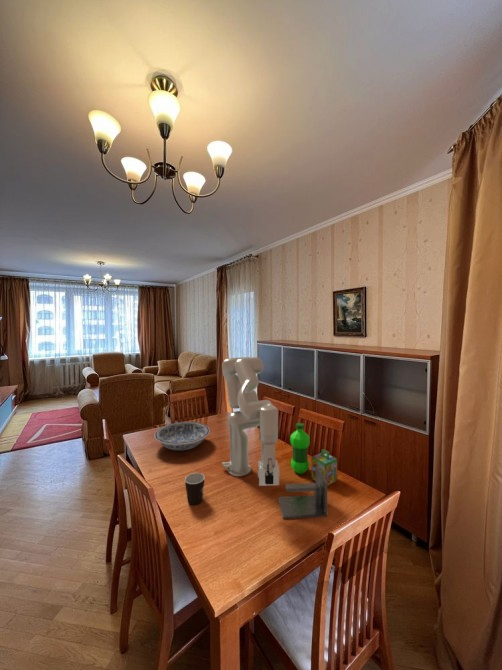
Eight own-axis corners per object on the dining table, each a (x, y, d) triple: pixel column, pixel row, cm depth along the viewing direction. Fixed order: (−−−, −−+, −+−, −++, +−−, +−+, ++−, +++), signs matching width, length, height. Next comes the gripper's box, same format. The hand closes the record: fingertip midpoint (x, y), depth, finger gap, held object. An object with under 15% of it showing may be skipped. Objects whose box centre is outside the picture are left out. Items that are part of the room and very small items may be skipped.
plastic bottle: (309, 466, 146) (309, 421, 145) (309, 477, 135) (309, 428, 135) (291, 464, 148) (290, 420, 147) (289, 475, 138) (289, 427, 137)
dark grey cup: (195, 509, 113) (195, 486, 112) (181, 502, 117) (180, 480, 117) (213, 494, 123) (213, 473, 122) (199, 488, 127) (199, 467, 127)
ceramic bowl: (182, 465, 148) (181, 447, 148) (142, 450, 166) (142, 434, 166) (220, 442, 178) (220, 427, 177) (183, 431, 196) (183, 418, 195)
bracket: (282, 518, 107) (282, 484, 106) (278, 499, 119) (278, 468, 118) (327, 516, 108) (327, 482, 107) (318, 497, 120) (318, 466, 119)
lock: (259, 485, 107) (259, 468, 107) (258, 476, 114) (258, 460, 113) (279, 485, 108) (279, 468, 107) (276, 475, 114) (276, 459, 114)
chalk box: (310, 479, 134) (310, 450, 134) (322, 473, 140) (322, 445, 139) (325, 488, 127) (325, 457, 126) (337, 481, 132) (337, 451, 131)
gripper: (257, 427, 118) (257, 467, 119) (261, 446, 101) (261, 492, 102) (274, 427, 118) (274, 466, 120) (281, 446, 101) (280, 491, 102)
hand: (268, 478), depth 111 cm, fingers closed on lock, 6 cm apart
